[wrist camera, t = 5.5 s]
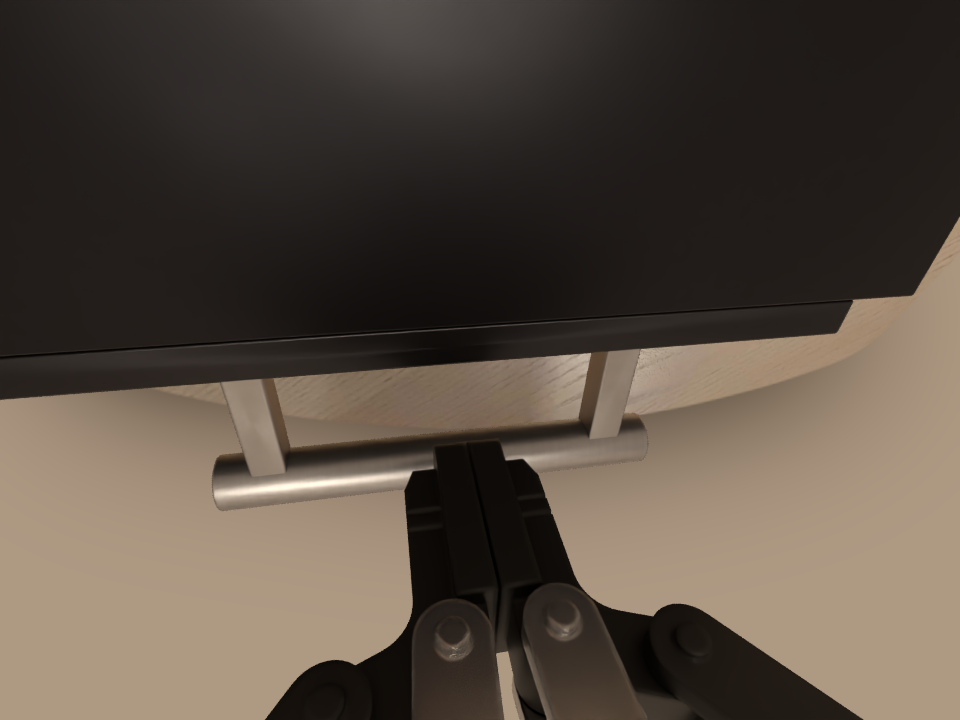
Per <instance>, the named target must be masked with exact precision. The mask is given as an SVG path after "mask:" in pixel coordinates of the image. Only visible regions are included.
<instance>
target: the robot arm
mask: <svg viewBox="0 0 960 720" xmlns="http://www.w3.org/2000/svg"><path fill="white" fill-rule="evenodd" d="M433 465H434V469H427V470H418V471H412V474H411V476H410V478H409V481H408V483H407V486H406V488H405V491H404V492H405V505H406V518H407V529H408V530H407V531H408V543H409V556H410V569H411V583H412V596H413V608H412V614H411V617H410V620H409V622H408V624H407V627H406V628H405V630H404V631H403V633H402V634H401V635H400V636H399V638H398V639H397V640H396V641H395V642H394V643H393V644H391V645H390V646H389V647H387V648H386V649H384V650H383V651H381V652H379V653H377V654H376V655H374V656H372V657H370V658H368V659H366V660H364V661H363V662H361V663H359V664H357V665H353V664H351V663H349V662H346V661H342V660H331V661H326V662H322V663H319V664H317V665H315V666H313V667H311V668H309V669H308V670H306V671H305V672H304V673H303V674H301V675H300V676H299V677H298V678H297V679H296V680H295V681H294V683H293V684H292V685H291V687H290V688H289V689H288V690H287V692H286V693H285V694H284V696H283V697H282V698H281V699H280V701H279V702H278V703H277V705H276V706H275V707H274V709H273V710H272V711H271V713H270V714H269V715H268V716H267V718H266V719H265V720H504V714H503V706H502V698H501V690H500V683H499V674H498V667H497V658H496V653H500V652H506V651H508V653H509V657H510V662H511V666H512V671H513V682H512V692H513V697H514V701H515V705H516V708H517V712H518V715H519V719H520V720H863V719H862V718H860V717H859V716H857V715H856V714H854V713H853V712H851V711H850V710H848V709H847V708H845V707H844V706H842V705H841V704H839V703H838V702H836V701H835V700H833V699H832V698H831V697H829V696H828V695H826V694H825V693H823V692H822V691H820V690H819V689H817V688H816V687H814V686H813V685H811V684H810V683H808V682H807V681H806V680H804V679H803V678H801V677H800V676H798V675H797V674H795V673H794V672H792V671H791V670H789V669H788V668H786V667H785V666H783V665H782V664H780V663H779V662H778V661H776V660H775V659H773V658H771V657H770V656H769V655H767V654H766V653H764V652H763V651H761V650H760V649H758V648H757V647H755V646H754V645H752V644H751V643H749V642H748V641H746V640H745V639H744V638H742V637H741V636H739V635H738V634H736V633H735V632H733V631H731V630H730V629H729V628H727V627H726V626H724V625H723V624H721V623H720V622H718V621H717V620H715V619H714V618H713V617H711V616H710V615H708V614H707V613H705V612H703V611H702V610H700V609H698V608H695V607H693V606H689V605H686V604H671V605H667V606H665V607H663V608H661V609H660V610H658V611H657V612H656V614H655V615H654V616H647V615H642V614H636V613H630V612H625V611H619V610H615V609H611V608H609V607H606V606H604V605H602V604H600V603H598V602H597V601H595V600H594V599H593V598H591V597H590V596H589V595H588V594H587V593H586V592H585V591H584V590H583V589H582V587H581V586H580V585H579V583H578V581H577V579H576V577H575V575H574V573H573V570H572V567H571V564H570V561H569V559H568V556H567V553H566V550H565V548H564V545H563V542H562V539H561V537H560V534H559V531H558V528H557V525H556V523H555V520H554V517H553V515H552V514H551V509H550V506H549V503H548V501H547V498H545V492H544V490H543V487H542V484H541V481H540V479H539V476H538V474H537V473H536V472H535V471H534V470H533V469H532V468H531V466H530V465H529V464H528V463H527V462H526V461H525V460H524V459H515V460H506V459H505V456H504V453H503V449H502V446H501V443H500V440H499V439H498V438H495V439H485V440H476V441H467V442H466V443H465V442H458V443H449V444H439V445H433Z"/></svg>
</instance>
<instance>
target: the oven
mask: <svg viewBox="0 0 960 720" xmlns="http://www.w3.org/2000/svg"><path fill="white" fill-rule="evenodd" d="M959 217H960V0H0V356H12V355H27V354H42V353H57V352H72V351H87V350H102V349H117V348H132V347H148V346H163V345H178V344H193V343H208V342H223V341H238V340H253V339H268V338H283V337H298V336H313V335H328V334H343V333H358V332H374V331H389V330H404V329H419V328H434V327H449V326H464V325H479V324H494V323H509V322H524V321H539V320H554V319H569V318H585V317H600V316H615V315H630V314H645V313H660V312H675V311H690V310H705V309H720V308H735V307H750V306H765V305H780V304H795V303H811V302H826V301H841V300H856V299H871V298H886V297H901V296H912V295H913V294H914V293H915V291H916V290H917V288H918V286H919V285H920V283H921V281H922V280H923V278H924V276H925V274H926V273H927V271H928V269H929V268H930V266H931V264H932V263H933V261H934V259H935V258H936V256H937V254H938V253H939V251H940V249H941V248H942V246H943V244H944V242H945V241H946V239H947V237H948V236H949V234H950V232H951V231H952V229H953V227H954V226H955V224H956V222H957V221H958V219H959Z"/></svg>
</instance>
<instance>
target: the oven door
mask: <svg viewBox="0 0 960 720" xmlns="http://www.w3.org/2000/svg"><path fill="white" fill-rule="evenodd" d="M852 303H853V300H841V301H826V302H811V303H795V304H780V305H765V306H750V307H735V308H720V309H705V310H690V311H675V312H660V313H645V314H630V315H615V316H600V317H585V318H569V319H554V320H539V321H524V322H509V323H494V324H479V325H464V326H449V327H434V328H419V329H404V330H389V331H374V332H358V333H343V334H328V335H313V336H298V337H283V338H268V339H253V340H238V341H223V342H208V343H193V344H178V345H163V346H148V347H132V348H117V349H102V350H87V351H72V352H57V353H42V354H27V355H12V356H0V400H4V399H16V398H29V397H42V396H54V395H66V394H79V393H92V392H104V391H117V390H128V389H129V390H130V389H143V388H155V387H168V386H180V385H193V384H206V383H218V382H220V384H221V387H222V390H223V393H224V396H225V399H226V402H227V405H228V408H229V412H230V414H231V418H232V421H233V424H234V427H235V430H236V433H237V436H238V439H239V442H240V445H241V448H242V451H243V453H236V454H225V455H220V456H219V457H218V458H217V460H216V462H215V464H214V469H213V475H212V491H213V498H214V501H215V504H216V506H217V508H218V509H219V510H221V511H228V510H235V509H244V508H252V507H261V506H269V505H277V504H285V503H293V502H302V501H310V500H318V499H327V498H335V497H344V496H352V495H360V494H369V493H377V492H385V491H393V490H402V489H405V488H406V486H407V483H408V481H409V478H410V476H411V474H412V471H418V470H427V469H434V465H433V445H439V444H449V443H458V442H465V443H466V442H467V441H476V440H485V439H495V438H498V439H499V440H500V443H501V446H502V449H503V453H504V456H505V459H506V460H515V459H524V460H525V461H526V462H527V463H528V464H529V465H530V466H531V468H532V469H533V470H534V471H535V472H536V473H543V472H551V471H560V470H568V469H576V468H584V467H593V466H601V465H609V464H618V463H625V462H634V461H641V460H643V459H644V458H645V456H646V454H647V450H648V436H647V431H646V428H645V425H644V423H643V421H642V419H641V418H640V417H639V415H637V414H635V413H625V414H624V411H625V407H626V403H627V399H628V396H629V392H630V388H631V384H632V381H633V377H634V373H635V369H636V365H637V362H638V358H639V354H640V350H641V349H647V348H659V347H672V346H685V345H697V344H710V343H722V342H735V341H748V340H760V339H773V338H786V337H798V336H811V335H823V334H835V333H837V332H838V330H839V328H840V326H841V325H842V323H843V321H844V319H845V317H846V315H847V313H848V311H849V309H850V307H851V305H852ZM584 353H591V357H590V363H589V368H588V373H587V378H586V383H585V388H584V393H583V398H582V403H581V408H580V413H579V418H576V419H567V420H557V421H547V422H537V423H528V424H518V425H508V426H498V427H488V428H479V429H469V430H459V431H449V432H440V433H430V434H420V435H410V436H402V437H391V438H381V439H371V440H363V441H352V442H342V443H332V444H323V445H314V446H303V447H293V448H290V444H289V440H288V436H287V432H286V428H285V424H284V419H283V415H282V411H281V407H280V403H279V399H278V395H277V391H276V387H275V383H274V379H273V378H281V377H294V376H306V375H319V374H332V373H344V372H357V371H369V370H382V369H395V368H407V367H420V366H432V365H445V364H458V363H470V362H483V361H496V360H508V359H521V358H533V357H546V356H559V355H571V354H584Z"/></svg>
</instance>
